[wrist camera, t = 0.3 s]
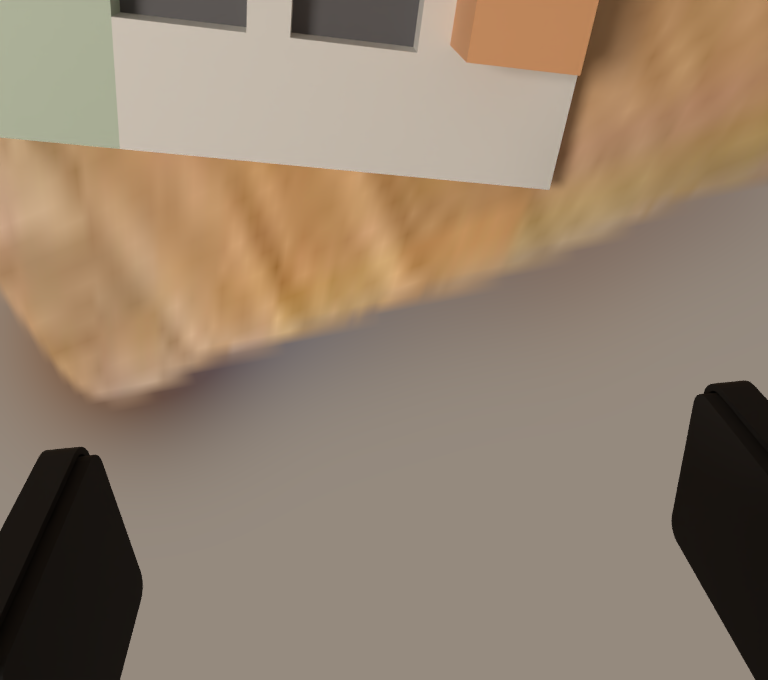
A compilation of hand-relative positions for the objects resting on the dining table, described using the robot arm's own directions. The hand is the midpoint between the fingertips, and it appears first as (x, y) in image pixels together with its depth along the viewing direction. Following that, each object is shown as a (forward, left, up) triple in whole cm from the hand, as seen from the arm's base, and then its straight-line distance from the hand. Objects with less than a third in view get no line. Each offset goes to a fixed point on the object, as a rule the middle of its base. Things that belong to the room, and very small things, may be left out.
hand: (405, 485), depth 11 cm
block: (-5, +7, -27) cm, 29 cm away
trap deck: (-3, -4, -29) cm, 30 cm away
